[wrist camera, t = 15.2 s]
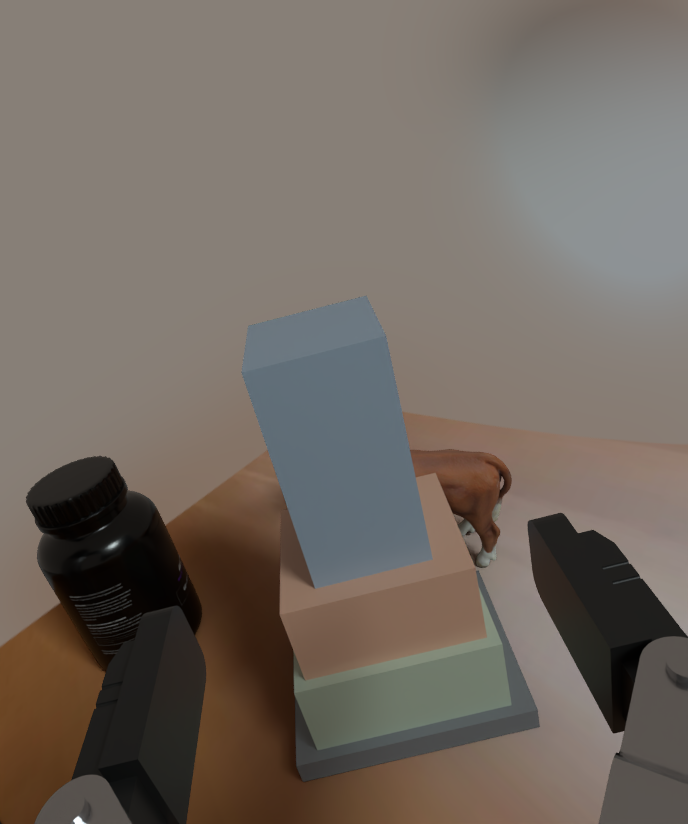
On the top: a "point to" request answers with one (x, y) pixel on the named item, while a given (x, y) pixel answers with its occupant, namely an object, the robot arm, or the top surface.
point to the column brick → (337, 440)
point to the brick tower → (398, 655)
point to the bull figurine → (469, 491)
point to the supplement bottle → (107, 554)
